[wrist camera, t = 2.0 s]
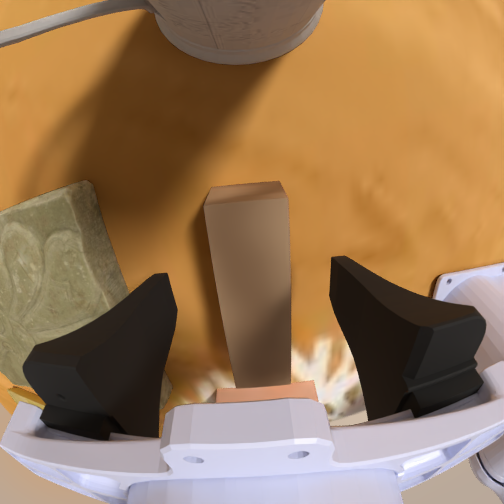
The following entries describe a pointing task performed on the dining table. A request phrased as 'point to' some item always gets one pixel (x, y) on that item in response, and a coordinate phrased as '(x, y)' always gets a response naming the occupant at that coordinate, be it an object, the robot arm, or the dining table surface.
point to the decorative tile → (55, 273)
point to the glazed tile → (268, 392)
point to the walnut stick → (253, 278)
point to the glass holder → (204, 25)
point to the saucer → (26, 397)
